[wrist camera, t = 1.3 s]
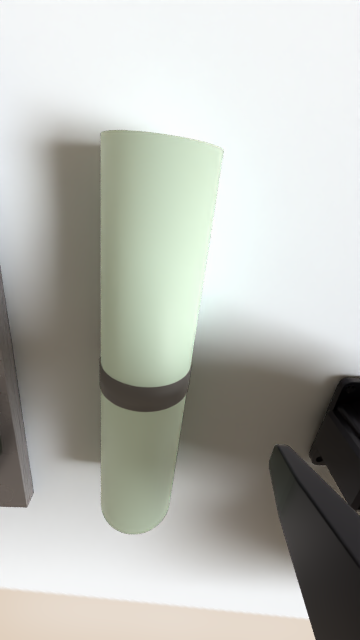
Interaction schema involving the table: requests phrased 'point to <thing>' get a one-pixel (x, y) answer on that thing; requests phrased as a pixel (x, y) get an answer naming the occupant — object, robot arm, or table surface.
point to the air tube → (149, 311)
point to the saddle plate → (11, 424)
